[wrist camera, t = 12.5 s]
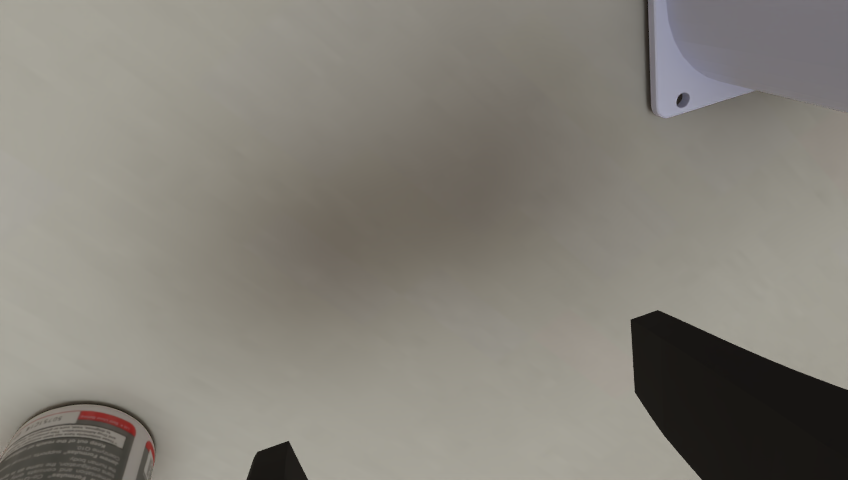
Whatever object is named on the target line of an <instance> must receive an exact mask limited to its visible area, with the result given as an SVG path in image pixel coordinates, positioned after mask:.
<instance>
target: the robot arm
mask: <svg viewBox="0 0 848 480" xmlns="http://www.w3.org/2000/svg"><path fill="white" fill-rule="evenodd" d="M648 15H649V49H650V84H651V108H652V111H653V113H654V114H655V115H657V116H660V117H663V118H670V117H673V116H676V115H680V114H683V113H686V112H689V111H692V110H696V109H699V108H702V107H705V106H708V105H711V104H715V103H718V102H721V101H724V100H727V99H731V98H734V97H737V96H740V95H743V94H747V93H750V92H753V91H756V90H757V91H761V92H765V93H769V94H773V95H777V96H781V97H785V98H789V99H793V100H797V101H801V102H805V103H809V104H813V105H817V106H821V107H825V108H829V109H833V110H837V111H841V112H846V113H848V0H648ZM680 94H682V95H683V96H682V100H681V101H680V103H679V104H676V101H677V98H678V96H679V95H680ZM631 333H632V350H633V367H634V384H635V393H636V395H637V396H638V398H639V399H640V401H641V402H642V404H643V405H644V407H645V408H646V410H647V411H648V413H649V415H650V416H651V417H652V419H653V420H654V422H655V423H656V425H657V426H658V428H659V429H660V430H661V432H662V433H663V435H664V436H665V437H666V438H667V440H668V441H669V442H670V443H671V444H672V445H673V447H674V448H675V449H676V450H677V451H678V452H679V454H680V455H681V456H682V457H683V458H684V459H685V461H686V462H687V463H688V464H689V465H690V466H691V468H692V469H693V470H694V471H695V472H696V473H697V475H698V476H699V477H700V478H701V479H702V480H848V390H846V389H843V388H840V387H838V386H835V385H832V384H830V383H827V382H824V381H822V380H819V379H816V378H814V377H811V376H808V375H806V374H803V373H801V372H798V371H795V370H793V369H790V368H788V367H786V366H783V365H781V364H778V363H776V362H773V361H771V360H769V359H766V358H764V357H761V356H759V355H757V354H754V353H752V352H750V351H748V350H745V349H743V348H741V347H738V346H736V345H734V344H732V343H729V342H727V341H725V340H723V339H721V338H718V337H716V336H714V335H712V334H710V333H707V332H705V331H703V330H701V329H699V328H697V327H694V326H692V325H690V324H688V323H686V322H683V321H681V320H679V319H677V318H675V317H672V316H670V315H668V314H665V313H663V312H661V311H658V310H657V311H654V312H651V313H648V314H646V315H643V316H640V317H637V318H634V319H631ZM247 480H308V479H307V477H306V475H305V473H304V471H303V469H302V467H301V465H300V463H299V461H298V459H297V457H296V455H295V453H294V451H293V449H292V447H291V445H290V443H289V441H287V442H284V443H281V444H279V445H276V446H273V447H270V448H267V449H264V450H262V451H259V452H257V454H256V455H255V457H254V459H253V462H252V465H251V468H250V471H249V474H248V477H247Z"/></svg>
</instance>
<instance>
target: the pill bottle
mask: <svg viewBox="0 0 848 480" xmlns="http://www.w3.org/2000/svg"><path fill="white" fill-rule="evenodd" d="M154 462H155V448H154V444H153V441H152V439H151V437H150V435H149V433H148V432H147V430H146V429H145V428H144V426H143V425H142V424H141V423H139V422H138V421H137V420H136V419H134V418H133V417H131V416H130V415H128V414H126V413H124V412H122V411H120V410H117V409H114V408H110V407H106V406H101V405H92V404H81V405H71V406H65V407H61V408H56V409H52V410H49V411H46V412H44V413H41V414H39V415H38V416H36V417H34V418H32V419H31V420H29V421H28V422H26V423H25V424H24V425H23V426H22V427H21V428H20V429H19V430H18V431H17V432H16V434H15V435H14V436H13V438H12V440H11V441H10V443H9V445H8V446H7V448H6V450H5V452H4V454H3V456H2V457H1V459H0V480H150V479H151V474H152V470H153V466H154Z"/></svg>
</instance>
